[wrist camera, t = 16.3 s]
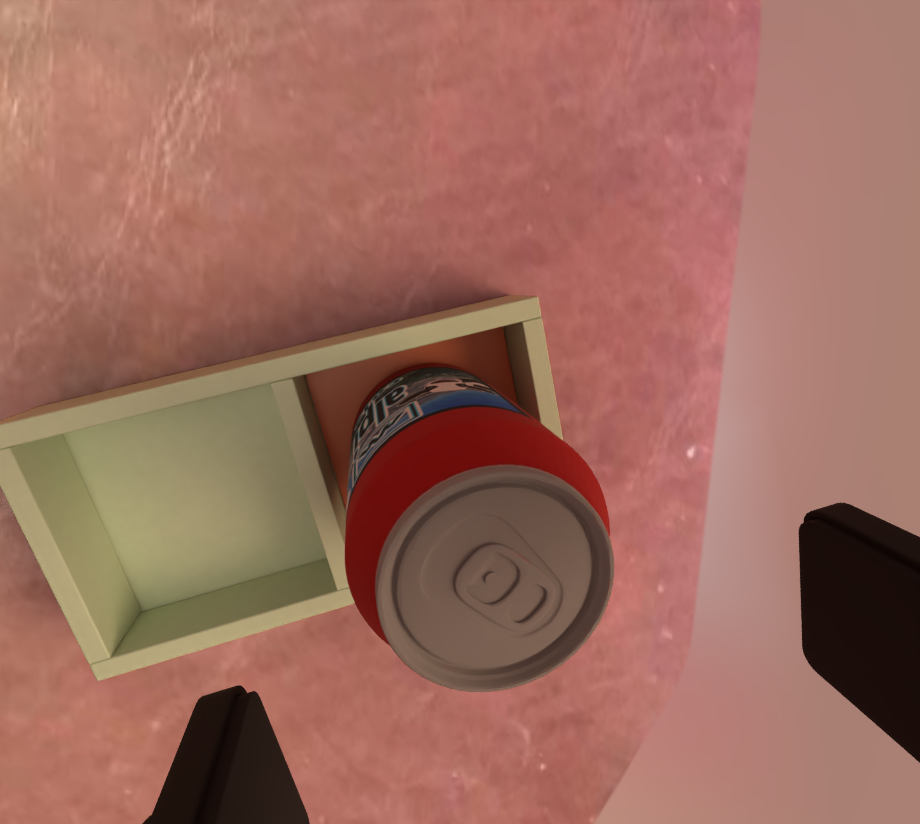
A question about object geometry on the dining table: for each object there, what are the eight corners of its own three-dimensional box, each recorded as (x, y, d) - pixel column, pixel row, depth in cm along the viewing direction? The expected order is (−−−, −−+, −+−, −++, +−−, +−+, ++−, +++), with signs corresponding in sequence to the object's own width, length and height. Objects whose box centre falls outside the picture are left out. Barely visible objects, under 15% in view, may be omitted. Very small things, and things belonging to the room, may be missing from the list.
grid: (550, 502, 26) (579, 535, 22) (135, 623, 23) (96, 682, 20) (511, 294, 23) (538, 295, 19) (37, 406, 20) (-29, 431, 17)
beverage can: (419, 326, 22) (487, 370, 10) (534, 423, 24) (700, 553, 12) (317, 449, 22) (271, 627, 11) (438, 535, 24) (510, 764, 12)
